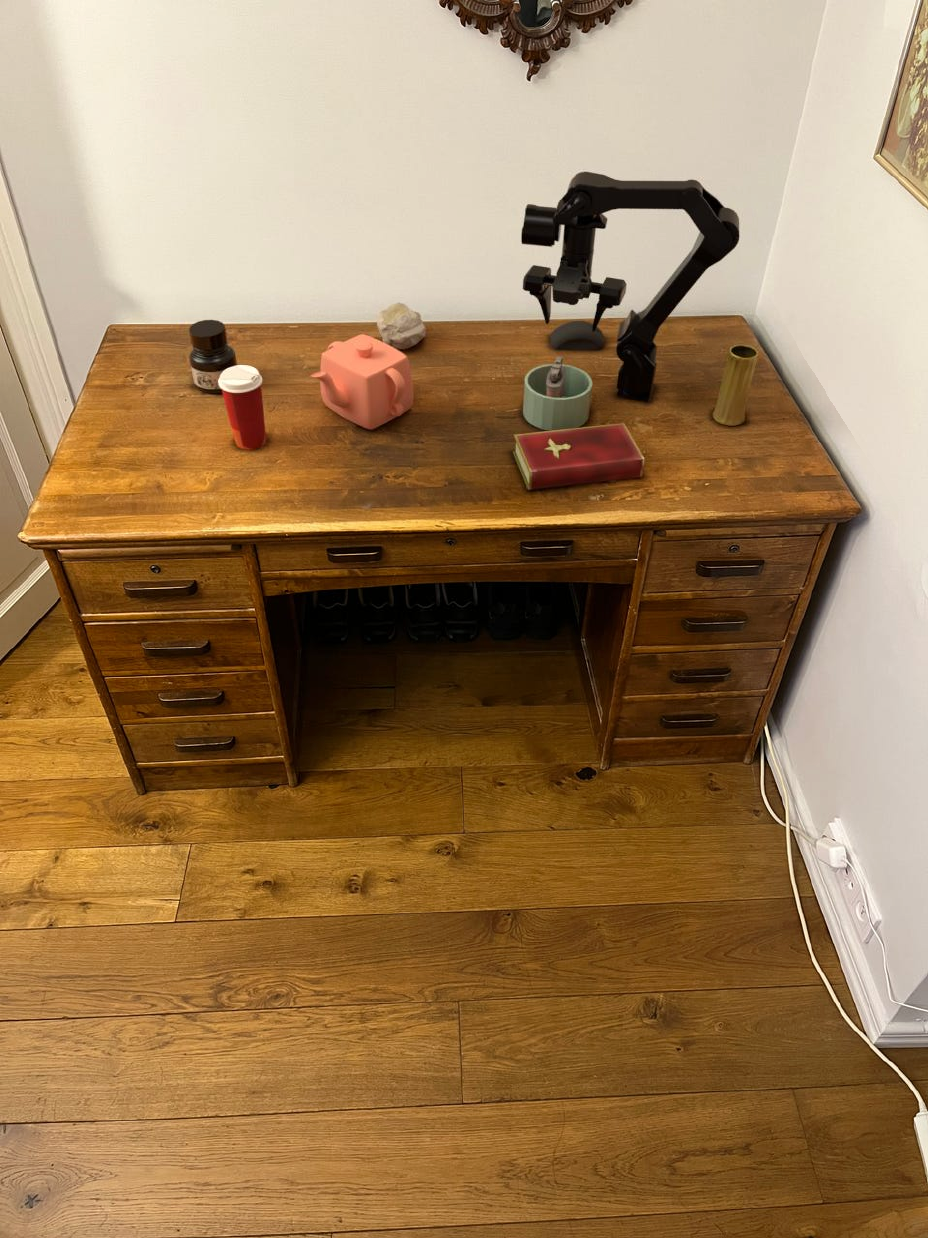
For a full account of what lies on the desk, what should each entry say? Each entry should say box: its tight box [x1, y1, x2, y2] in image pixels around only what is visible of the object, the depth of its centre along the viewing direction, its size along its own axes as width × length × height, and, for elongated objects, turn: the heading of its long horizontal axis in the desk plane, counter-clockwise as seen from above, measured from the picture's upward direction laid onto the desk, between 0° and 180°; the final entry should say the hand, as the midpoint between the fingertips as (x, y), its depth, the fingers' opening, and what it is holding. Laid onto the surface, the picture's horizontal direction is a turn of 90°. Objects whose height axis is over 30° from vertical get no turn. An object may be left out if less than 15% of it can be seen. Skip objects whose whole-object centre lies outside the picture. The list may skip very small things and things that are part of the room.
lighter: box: [546, 356, 566, 398], centre depth 187 cm, size 8×3×10 cm, turn 166°
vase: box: [712, 344, 759, 427], centre depth 185 cm, size 6×6×14 cm
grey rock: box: [376, 301, 427, 350], centre depth 207 cm, size 12×8×10 cm
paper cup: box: [218, 364, 267, 451], centre depth 178 cm, size 8×8×14 cm
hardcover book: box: [512, 422, 646, 491], centre depth 177 cm, size 12×21×4 cm, turn 102°
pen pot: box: [522, 363, 593, 431], centre depth 189 cm, size 13×13×7 cm
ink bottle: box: [188, 319, 238, 394], centre depth 193 cm, size 10×9×12 cm
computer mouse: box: [549, 320, 605, 351], centre depth 209 cm, size 6×11×4 cm, turn 89°
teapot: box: [310, 333, 415, 430], centre depth 185 cm, size 20×19×14 cm
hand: (570, 326), depth 190 cm, fingers open, 9 cm apart
